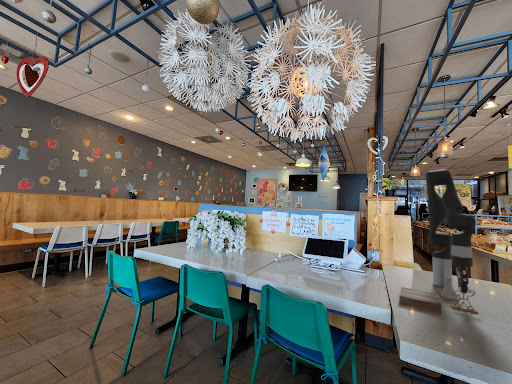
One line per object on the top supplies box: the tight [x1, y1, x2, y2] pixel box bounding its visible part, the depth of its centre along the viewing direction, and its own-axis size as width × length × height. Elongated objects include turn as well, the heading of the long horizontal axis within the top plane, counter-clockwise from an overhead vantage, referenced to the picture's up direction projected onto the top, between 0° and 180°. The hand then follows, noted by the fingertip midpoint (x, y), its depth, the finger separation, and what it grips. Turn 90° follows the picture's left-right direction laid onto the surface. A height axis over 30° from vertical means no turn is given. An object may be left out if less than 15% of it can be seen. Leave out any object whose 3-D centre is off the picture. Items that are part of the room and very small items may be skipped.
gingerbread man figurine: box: [450, 284, 479, 315], centre depth 104 cm, size 9×4×12 cm, turn 58°
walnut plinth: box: [399, 286, 443, 315], centre depth 110 cm, size 16×16×4 cm
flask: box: [439, 278, 459, 301], centre depth 118 cm, size 7×7×10 cm
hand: (462, 289), depth 104 cm, fingers open, 8 cm apart
